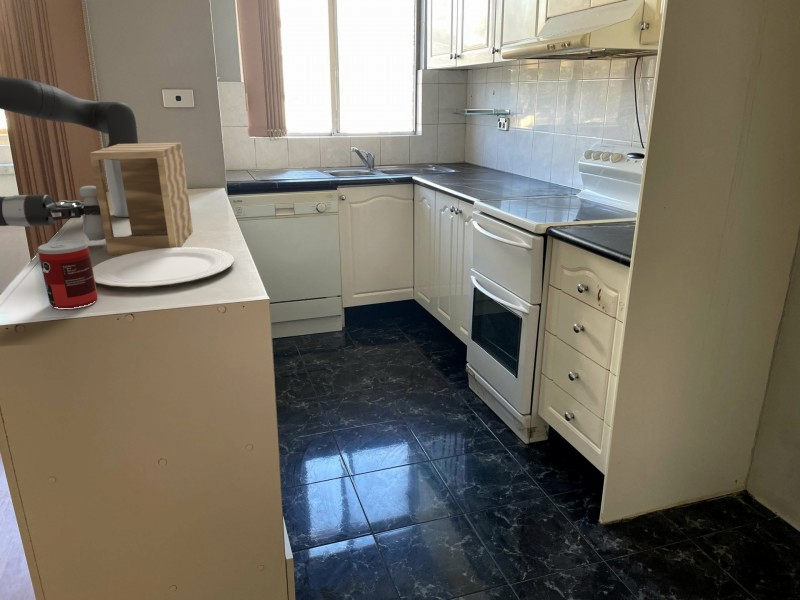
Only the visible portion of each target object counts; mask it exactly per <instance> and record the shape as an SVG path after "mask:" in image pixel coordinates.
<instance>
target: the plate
mask: <svg viewBox="0 0 800 600" xmlns="http://www.w3.org/2000/svg"><path fill="white" fill-rule="evenodd" d="M234 258H235V257H234V256H233V255H232V254H230V253H229V252H228V251H224V250H220V249H216V248H211V247H210V248H209V247H198V246H197V247H193V246H191V247H190V246H186V247H184V246H183V247H182V246H181V247H178V248H164V249H155V250H147V251H141V252H136V253H131V254H126V255H118V256H116V257H111V258H109V259H107V260H105V261H102V262H98V264H96V265H94V266H92V269H93V274H94V279H95V284H98V285H101V286H106V287H111V288H122V289H123V288H124V289H125V288H126V289H138V288H139V289H144V288H146V289H147V288H148V289H149V288H150V287H152V288H160V286H164V287H171V286H170V285H172V286H177V285H176V284H178V285H182V283H184V284H187V283H192V282H196V281H200V280H204V279H207V278H210V277H212V276H213V277H214V276H215V275H218V274H220V273H223V272H224V271H226V270H228V269H229V268H231V267H232V266H233V264H234V263H235V259H234Z"/></svg>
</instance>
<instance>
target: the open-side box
mask: <svg viewBox="0 0 800 600" xmlns="http://www.w3.org/2000/svg"><path fill="white" fill-rule="evenodd" d="M182 145H183V144H182V142H150V143H147V142H146V143H138V144H117V145H114V146H111V147H107V146H106V147H107V148H105V147H104V148H100V149H99V150H98V149H97V150H95V151H92V152H89V157H90V162H91V168H92V173H93V179H94V184H95V185H94V186H96V190H97V196H98V201H99V207H100V212H101V218H102V223H103V229H104V234H105V239H104V240H105V244H106V250H107V255H108V256H122V255H126V254H131V253H136V252H141V251H147V250H155V249H164V248H178V247H182V246H183V245H184V243H186V241H187V240H188V239H189V237H190V236H191V235H192V233H193V232H194V230H193V228H194V227H193V221H192V214H191V205H190V197H189V192H188V183H187V176H186V175H187V174H186V169H185V161H184V154H183V146H182ZM104 159H119V162H120V168H121V174H122V180H123V186H124V192H125V198H126V204H127V210H128V216H129V217H128V221H129V226H130V232H131V233H130V234H131V235H128V236H126V235H125V236H115V234H114V230H113V224H112V219H111V213H110V207H109V206H110V205H109V200H108V196H107V191H106V184H105V178H104V173H103V168H102V161H101V160H104ZM144 234H148V235H144Z"/></svg>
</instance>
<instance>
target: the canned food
mask: <svg viewBox="0 0 800 600" xmlns="http://www.w3.org/2000/svg"><path fill="white" fill-rule="evenodd" d="M37 253H38V257H39V263H40V267H41V271H42V276H43V280H44V284H45V288H46V294H47V298H48V302H49V304H50V306H51V305H52V306H53V307H58V308H74V307H79V306H84V305H88V304H90V303H93V302H94V301H96V300H97V301H98V295H99V294H98V291H97V285H96V283H95V279H94V274H93V269H92V268H93V265H92V258H91V253H90V249H89V244H88V242H87V241H86V240H79V239H64V240H57V241H51V242H45V243H43V244H41V245H39V246H38V247H37ZM97 301H96V302H97ZM52 306H51V307H52ZM53 307H52V308H53Z"/></svg>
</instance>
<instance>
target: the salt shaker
mask: <svg viewBox="0 0 800 600" xmlns="http://www.w3.org/2000/svg"><path fill="white" fill-rule="evenodd" d="M78 189H79V190H78V191H79V196H80V197H82V198H83V200H84V205H85V206H92V205H99V201H98V196H97V190H96V185H84V186H81V187H80V188H78ZM82 232H83V234H84V235H85V236H86V237H87V239H88V241H93V242H94V241H101V240H105V234H104V229H103V223H102V218H101V215H92V214H90V215H87V214H86V216H82Z"/></svg>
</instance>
